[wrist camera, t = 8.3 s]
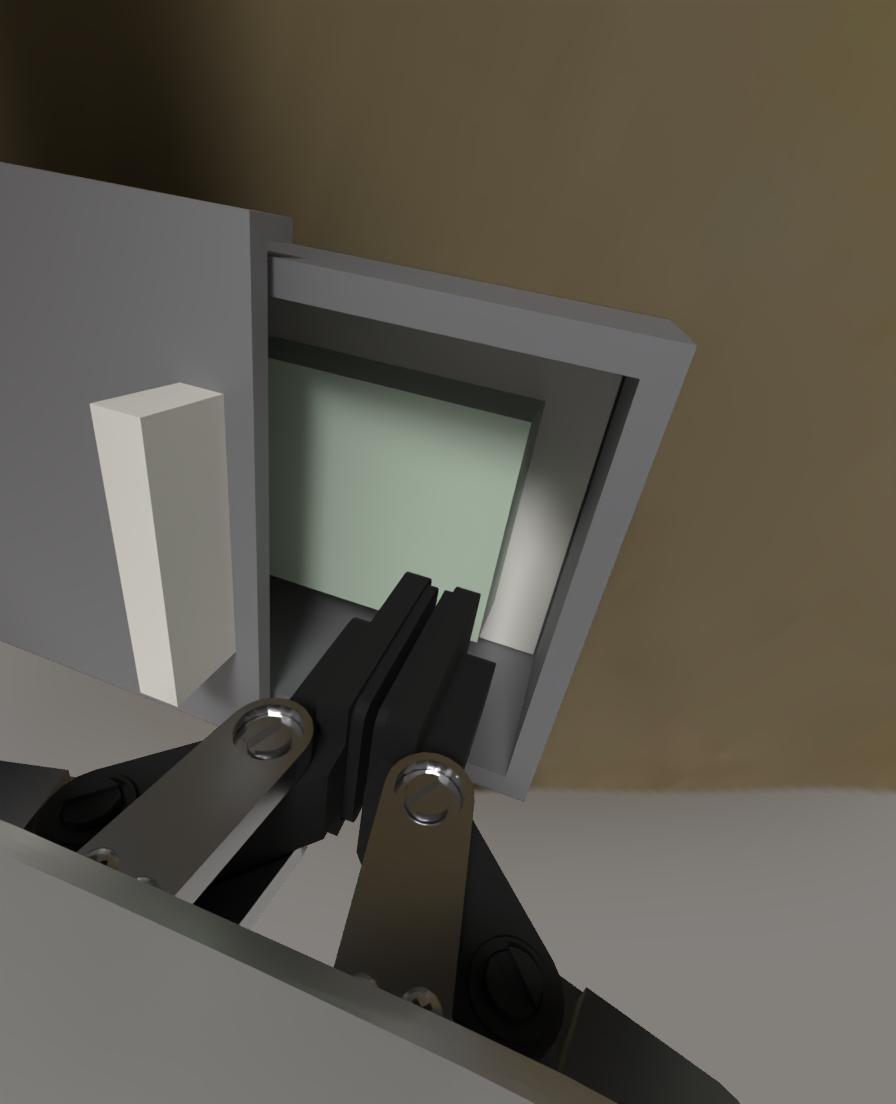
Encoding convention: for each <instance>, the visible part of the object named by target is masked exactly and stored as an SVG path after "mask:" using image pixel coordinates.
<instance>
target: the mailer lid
mask: <svg viewBox="0 0 896 1104" xmlns="http://www.w3.org/2000/svg"><path fill="white" fill-rule="evenodd" d="M267 241H272V242H282V243H291V244H293V218H291V217H285V216H280V215H275V214H270V213H265V212H259V211H254V210H249V209H244V208H239V207H234V206H228V205H223V204H218V203H213V202H208V201H202V200H197V199H192V198H187V197H182V196H176V195H171V194H166V193H161V192H156V191H150V190H145V189H140V188H135V187H130V186H125V185H119V184H114V183H109V182H104V181H99V180H93V179H88V178H83V177H78V176H73V175H67V174H62V173H57V172H52V171H47V170H41V169H36V168H31V167H26V166H21V165H15V164H10V163H5V162H0V641H2V642H5V643H8V644H10V645H13V646H15V647H18V648H21V649H23V650H25V651H28V652H31V653H33V654H36V655H38V656H41V657H44V658H46V659H49V660H51V661H53V662H56V663H59V664H61V665H64V666H66V667H69V668H71V669H74V670H76V671H79V672H82V673H84V674H87V675H89V676H92V677H94V678H97V679H99V680H102V681H105V682H107V683H110V684H112V685H115V686H117V687H120V688H122V689H125V690H127V691H130V692H133V693H135V694H138V695H140V696H143V697H145V698H148V699H151V700H153V701H156V702H158V703H161V704H163V705H166V706H169V707H171V708H174V709H176V710H178V711H181V712H184V713H186V714H189V715H191V716H194V717H196V718H199V719H201V720H204V721H206V722H209V723H212V724H214V725H217V726H220V725H221V724H222V723H223V722H225V721H226V720H227V719H228V718H229V717H230V716H231V715H232V714H234V713H235V712H236V711H237V710H239V709H240V708H242V707H243V706H245V705H246V704H249V703H252V702H254V701H257V700H260V699H267V698H270V589H269V438H268V286H267Z"/></svg>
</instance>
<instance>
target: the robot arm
mask: <svg viewBox="0 0 896 1104" xmlns="http://www.w3.org/2000/svg"><path fill="white" fill-rule="evenodd" d="M431 584H432V580H431V578H428V577H425V576H421V575H418V574H415V573H412V572H406V573H405V574H404V575H403V577H402V578H401V580H400V581H399V582H398V584H397V585H396V587H395V588H394V590H393V591H392V592H391V594H390V595H389V597H388V598H387V599H386V601H385V602H384V604H383V605H382V606H381V608H380V609H379V611H378V612H377V614H376V615H375V616H374V618H373V619H372V621H371V622H369V621H366V620H363V619H360V618H357V617H355V618H352V619H351V620H350V622H349V623H348V624H347V625H346V626H345V628H344V629H343V630H342V632H341V633H340V634H339V636H338V637H337V638H336V639H335V641H334V642H333V643H332V645H331V646H330V647H329V649H328V650H327V651H326V652H325V654H324V655H323V656H322V658H321V659H320V660H319V662H318V663H317V664H316V665H315V667H314V668H313V669H312V671H311V672H310V673H309V675H308V676H307V677H306V678H305V680H304V681H303V682H302V684H301V685H300V686H299V688H298V689H297V690H296V691H295V693H294V694H293V695H292V697H291V698H290V699H289V700H288V699H283V698H267V699H260V700H257V701H254V702H252V703H249V704H246V705H245V706H243V707H242V708H240V709H239V710H237V711H236V712H235V713H234V714H232V715H231V716H230V717H229V718H228V719H227V720H226V721H225V722H223V723H222V724H221V725H220V726H219V727H218V728H217V729H215V730H214V731H213V732H212V733H211V734H210V735H209V736H208V737H206V738H205V739H204V740H203V741H199V742H196V743H192V744H189V745H185V746H181V747H178V748H174V749H171V750H167V751H163V752H160V753H156V754H152V755H148V756H145V757H141V758H138V759H134V760H131V761H127V762H123V763H119V764H116V765H112V766H108V767H105V768H101V769H97V770H94V771H91V772H89V773H86V774H83V775H81V776H78V777H71V776H70V774H69V771H68V770H65V769H57V768H50V767H43V766H36V765H29V764H22V763H15V762H7V761H0V1104H740V1103H739V1101H738V1100H737V1099H736V1098H735V1097H734V1096H733V1095H732V1094H731V1093H730V1092H729V1091H727V1089H726V1088H725V1087H723V1086H722V1085H721V1084H720V1083H719V1082H718V1081H717V1080H715V1079H714V1078H712V1077H711V1076H710V1075H708V1074H707V1073H706V1072H704V1071H703V1070H701V1069H700V1068H698V1067H697V1066H696V1065H694V1064H693V1063H692V1062H690V1061H689V1060H687V1059H686V1058H685V1057H683V1056H682V1055H680V1054H679V1053H678V1052H676V1051H675V1050H673V1049H672V1048H671V1047H669V1046H668V1045H667V1044H665V1043H664V1042H662V1041H661V1040H660V1039H658V1038H657V1037H655V1036H654V1035H653V1034H651V1033H650V1032H649V1031H647V1030H646V1029H644V1028H643V1027H642V1026H640V1025H639V1024H637V1023H636V1022H635V1021H633V1020H632V1019H630V1018H629V1017H628V1016H626V1015H625V1014H623V1013H622V1012H621V1011H619V1010H618V1009H617V1008H615V1007H614V1006H612V1005H611V1004H609V1003H608V1002H607V1001H605V1000H604V999H603V998H601V997H600V996H598V995H597V994H595V993H594V992H593V991H591V990H590V989H588V988H587V987H586V988H585V990H584V991H583V992H582V991H581V990H579V989H578V988H576V987H575V986H574V985H573V984H571V983H570V982H568V981H567V980H566V979H564V978H563V977H561V976H560V975H559V974H558V971H557V969H556V967H555V964H554V962H553V960H552V958H551V956H550V955H549V953H548V951H547V949H546V947H545V946H544V944H543V942H542V940H541V939H540V937H539V935H538V933H537V932H536V930H535V928H534V927H533V925H532V923H531V921H530V919H529V918H528V916H527V914H526V912H525V911H524V909H523V907H522V905H521V904H520V902H519V900H518V898H517V897H516V895H515V893H514V891H513V890H512V888H511V886H510V884H509V883H508V881H507V879H506V877H505V876H504V874H503V873H502V870H501V869H500V867H499V865H498V863H497V861H496V860H495V858H494V856H493V855H492V853H491V851H490V849H489V847H488V846H487V844H486V842H485V840H484V839H483V837H482V835H481V834H480V832H479V830H478V828H477V827H476V825H475V823H474V821H473V810H474V788H473V786H472V783H471V781H470V778H469V776H468V775H467V774H466V772H465V771H464V770H465V767H466V763H467V760H468V757H469V754H470V751H471V748H472V744H473V741H474V738H475V735H476V732H477V729H478V725H479V722H480V719H481V716H482V712H483V709H484V706H485V702H486V699H487V696H488V692H489V689H490V685H491V682H492V678H493V674H494V671H495V667H496V663H495V662H492V661H489V660H486V659H483V658H480V657H477V656H473V655H470V654H467V652H468V647H469V643H470V639H471V635H472V631H473V627H474V622H475V618H476V614H477V610H478V606H479V602H480V596H481V594H480V593H477V592H474V591H470V590H467V589H464V588H461V587H456V588H455V589H454V591H453V592H451V591H448V590H445V591H444V592H443V594H442V596H441V598H440V600H439V601H438V603H437V605H436V602H437V597H438V591H439V588H438V587H435V586H431ZM362 806H363V807H362ZM361 808H362V814H361V823H360V830H359V838H358V846H357V854H358V857H359V860H360V862H361V865H362V866H361V870H360V873H359V877H358V881H357V884H356V888H355V892H354V895H353V899H352V902H351V906H350V910H349V913H348V917H347V920H346V924H345V928H344V931H343V935H342V939H341V942H340V946H339V949H338V953H337V957H336V960H335V964H334V968H333V967H331V966H329V965H326V964H324V963H322V962H320V961H318V960H315V959H313V958H311V957H309V956H307V955H304V954H302V953H300V952H298V951H296V950H293V949H291V948H289V947H287V946H284V945H282V944H280V943H278V942H276V941H273V940H271V939H269V938H267V937H264V936H262V935H260V934H258V933H255V932H253V931H251V930H250V928H251V927H252V925H253V924H254V923H255V921H256V920H257V919H258V917H259V916H260V915H261V913H262V912H263V910H264V909H265V908H266V906H267V905H268V904H269V902H270V901H271V899H272V898H273V897H274V895H275V894H276V892H277V891H278V890H279V888H280V887H281V886H282V884H283V883H284V882H285V880H286V879H287V877H288V876H289V875H290V873H291V872H292V871H293V869H294V868H295V866H296V865H297V864H298V862H299V861H300V860H301V858H302V856H303V854H304V852H305V851H306V849H307V845H309V844H312V843H314V842H317V841H319V840H322V839H324V837H325V835H326V834H327V832H329V833H331V834H334V835H336V836H337V835H338V833H339V831H340V829H341V827H342V825H343V823H344V821H345V819H346V820H349V821H351V822H354V821H355V820H356V818H357V816H358V814H359V812H360V810H361Z"/></svg>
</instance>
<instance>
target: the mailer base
mask: <svg viewBox="0 0 896 1104" xmlns="http://www.w3.org/2000/svg"><path fill="white" fill-rule="evenodd" d="M267 286H268V438H269V589H270V698H283V699H288V700H289V699H290V698H291V697H292V695H293V694H294V693H295V691H296V690H297V689H298V688H299V686H300V685H301V684H302V682H303V681H304V680H305V678H306V677H307V676H308V675H309V673H310V672H311V671H312V669H313V668H314V667H315V665H316V664H317V663H318V662H319V660H320V659H321V658H322V656H323V655H324V654H325V652H326V651H327V650H328V649H329V647H330V646H331V645H332V643H333V642H334V641H335V639H336V638H337V637H338V636H339V634H340V633H341V632H342V630H343V629H344V628H345V626H346V625H347V624H348V623H349V622H350V620H351V619H352V618H355V617H357V618H360V619H363V620H366V621H369V622H371V621H372V619H373V618H374V616H375V615H376V614H377V612H378V611H379V609H380V608H381V606H382V605H383V604H384V602H385V601H386V599H387V598H388V597H389V595H390V594H391V592H392V591H393V590H394V588H395V587H396V585H397V584H398V582H399V581H400V580H401V578H402V577H403V575H404V574H405V573H406V572H412V573H415V574H418V575H421V576H425V577H428V578H431V580H432V584H431V586H435V587H438V588H439V591H438V597H437V602H436V605H437V603H438V601H439V600H440V598H441V596H442V594H443V592H444V591H445V590H448V591H451V592H453V591H454V589H455V588H456V587H461V588H464V589H467V590H470V591H474V592H477V593H480V594H481V596H480V602H479V606H478V610H477V614H476V618H475V622H474V627H473V631H472V635H471V639H470V643H469V647H468V652H467V654H470V655H473V656H477V657H480V658H483V659H486V660H489V661H492V662H495V663H496V667H495V671H494V674H493V678H492V682H491V685H490V689H489V692H488V696H487V699H486V702H485V706H484V709H483V712H482V716H481V719H480V722H479V725H478V729H477V732H476V735H475V738H474V741H473V744H472V748H471V751H470V754H469V757H468V760H467V763H466V767H465V770H464V771H465V772H466V774H467V775H468V776H469V778H470V781H471V782H472V783H475V784H478V785H480V786H483V787H486V788H488V789H491V790H494V791H496V792H499V793H502V794H504V795H507V796H510V797H512V798H515V799H518V800H521V801H523V802H524V800H525V798H526V795H527V792H528V790H529V787H530V785H531V782H532V779H533V777H534V774H535V771H536V769H537V766H538V764H539V761H540V758H541V756H542V753H543V750H544V748H545V745H546V742H547V740H548V737H549V735H550V732H551V729H552V727H553V724H554V721H555V719H556V716H557V714H558V711H559V708H560V706H561V703H562V700H563V698H564V695H565V692H566V690H567V687H568V685H569V682H570V679H571V677H572V674H573V671H574V669H575V666H576V664H577V661H578V658H579V656H580V653H581V650H582V648H583V645H584V642H585V640H586V637H587V635H588V632H589V629H590V627H591V624H592V621H593V619H594V616H595V614H596V611H597V608H598V606H599V603H600V600H601V598H602V595H603V592H604V590H605V587H606V585H607V582H608V579H609V577H610V574H611V571H612V569H613V566H614V564H615V561H616V558H617V556H618V553H619V550H620V548H621V545H622V542H623V540H624V537H625V535H626V532H627V529H628V527H629V524H630V521H631V519H632V516H633V514H634V511H635V508H636V506H637V503H638V500H639V498H640V495H641V492H642V490H643V487H644V485H645V482H646V479H647V477H648V474H649V471H650V469H651V466H652V464H653V461H654V458H655V456H656V453H657V450H658V448H659V445H660V442H661V440H662V437H663V435H664V432H665V429H666V427H667V424H668V421H669V419H670V416H671V414H672V411H673V408H674V406H675V403H676V400H677V398H678V395H679V392H680V390H681V387H682V385H683V382H684V379H685V377H686V374H687V371H688V369H689V366H690V364H691V361H692V358H693V356H694V353H695V350H696V348H697V345H696V344H695V343H694V342H693V341H692V340H691V339H690V338H689V337H688V336H687V335H686V334H685V333H684V332H683V331H682V330H681V329H680V328H679V327H678V326H677V325H676V324H675V323H674V322H673V321H672V320H668V319H663V318H658V317H653V316H648V315H643V314H638V313H633V312H628V311H623V310H618V309H613V308H608V307H603V306H599V305H594V304H589V303H584V302H579V301H574V300H569V299H564V298H559V297H554V296H549V295H544V294H539V293H534V292H529V291H524V290H519V289H514V288H510V287H505V286H500V285H495V284H490V283H485V282H480V281H475V280H470V279H465V278H460V277H455V276H450V275H445V274H440V273H435V272H430V271H425V270H420V269H416V268H411V267H406V266H401V265H396V264H391V263H386V262H381V261H376V260H371V259H366V258H361V257H356V256H351V255H346V254H341V253H336V252H331V251H327V250H322V249H317V248H312V247H307V246H302V245H297V244H291V243H282V242H272V241H267Z"/></svg>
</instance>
